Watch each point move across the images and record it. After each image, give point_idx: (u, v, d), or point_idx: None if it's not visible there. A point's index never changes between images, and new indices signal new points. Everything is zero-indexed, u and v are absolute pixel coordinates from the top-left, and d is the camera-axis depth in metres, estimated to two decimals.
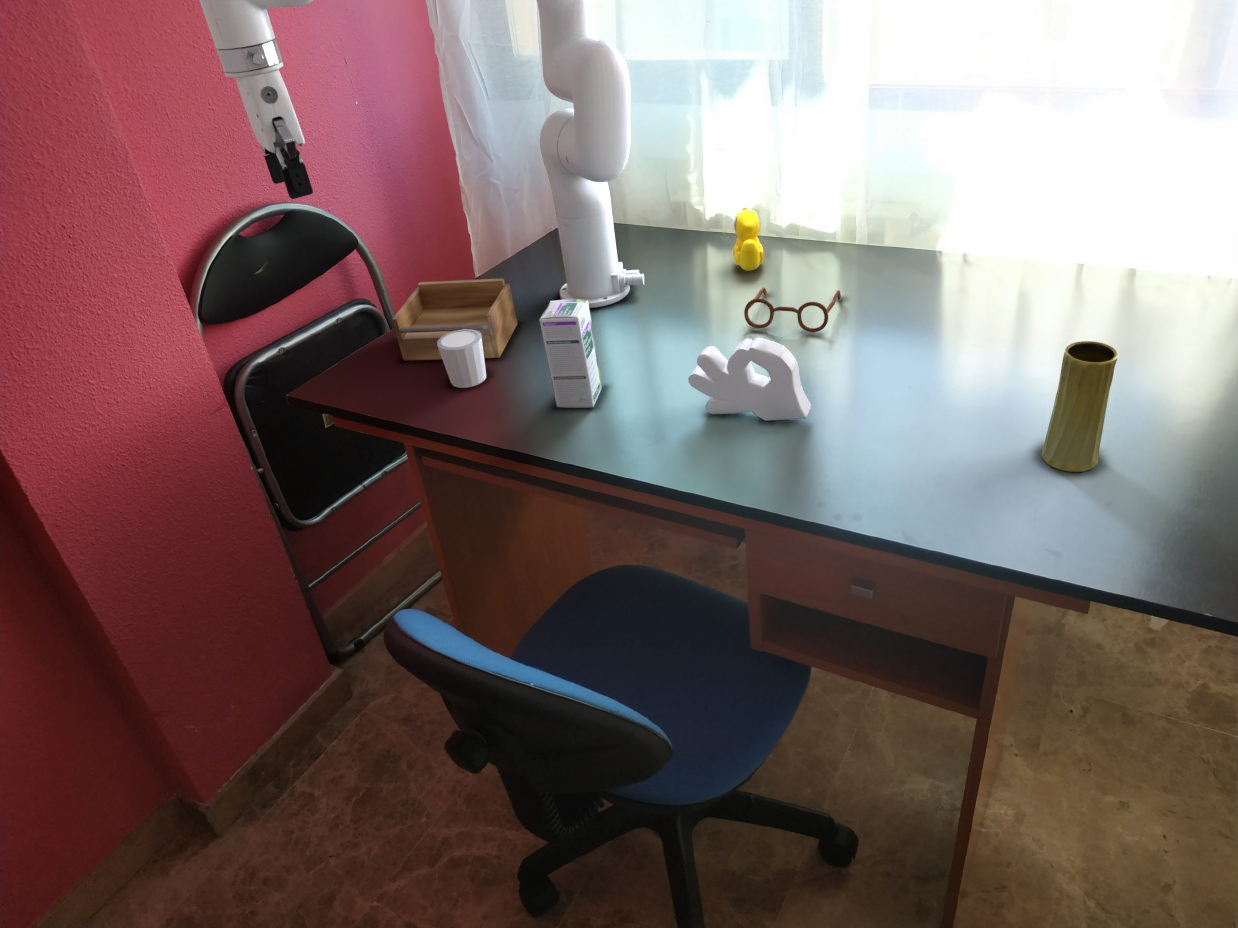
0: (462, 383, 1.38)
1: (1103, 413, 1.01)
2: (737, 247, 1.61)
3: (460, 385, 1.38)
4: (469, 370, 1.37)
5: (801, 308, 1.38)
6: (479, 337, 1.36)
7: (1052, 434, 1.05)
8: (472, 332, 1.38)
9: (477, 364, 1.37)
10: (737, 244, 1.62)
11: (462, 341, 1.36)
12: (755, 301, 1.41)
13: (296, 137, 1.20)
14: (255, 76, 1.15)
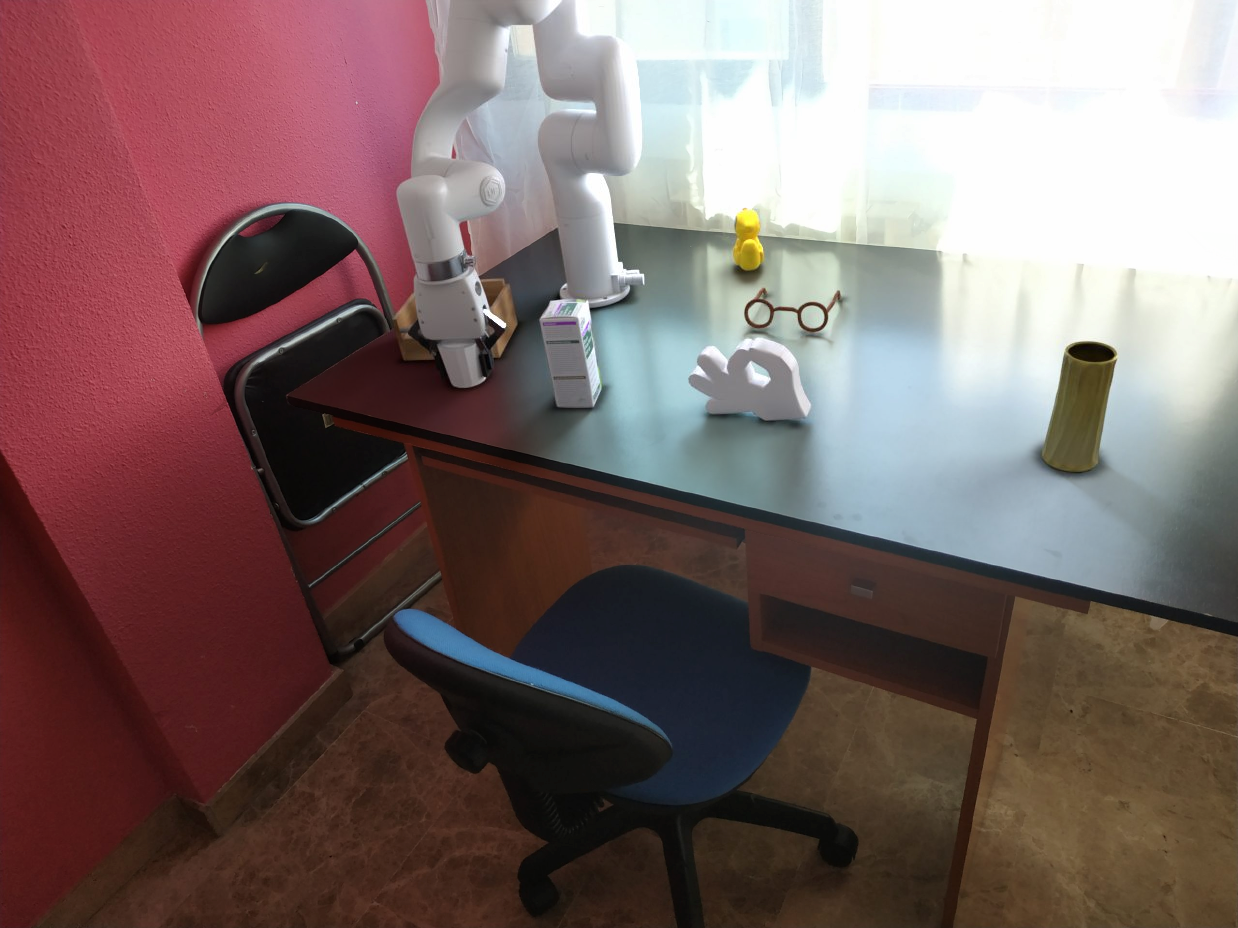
0: (462, 383, 1.38)
1: (1103, 413, 1.01)
2: (737, 247, 1.61)
3: (460, 385, 1.38)
4: (469, 370, 1.37)
5: (801, 308, 1.38)
6: None
7: (1052, 434, 1.05)
8: None
9: (477, 364, 1.37)
10: (737, 244, 1.62)
11: (462, 341, 1.36)
12: (755, 301, 1.41)
13: None
14: (469, 275, 1.29)
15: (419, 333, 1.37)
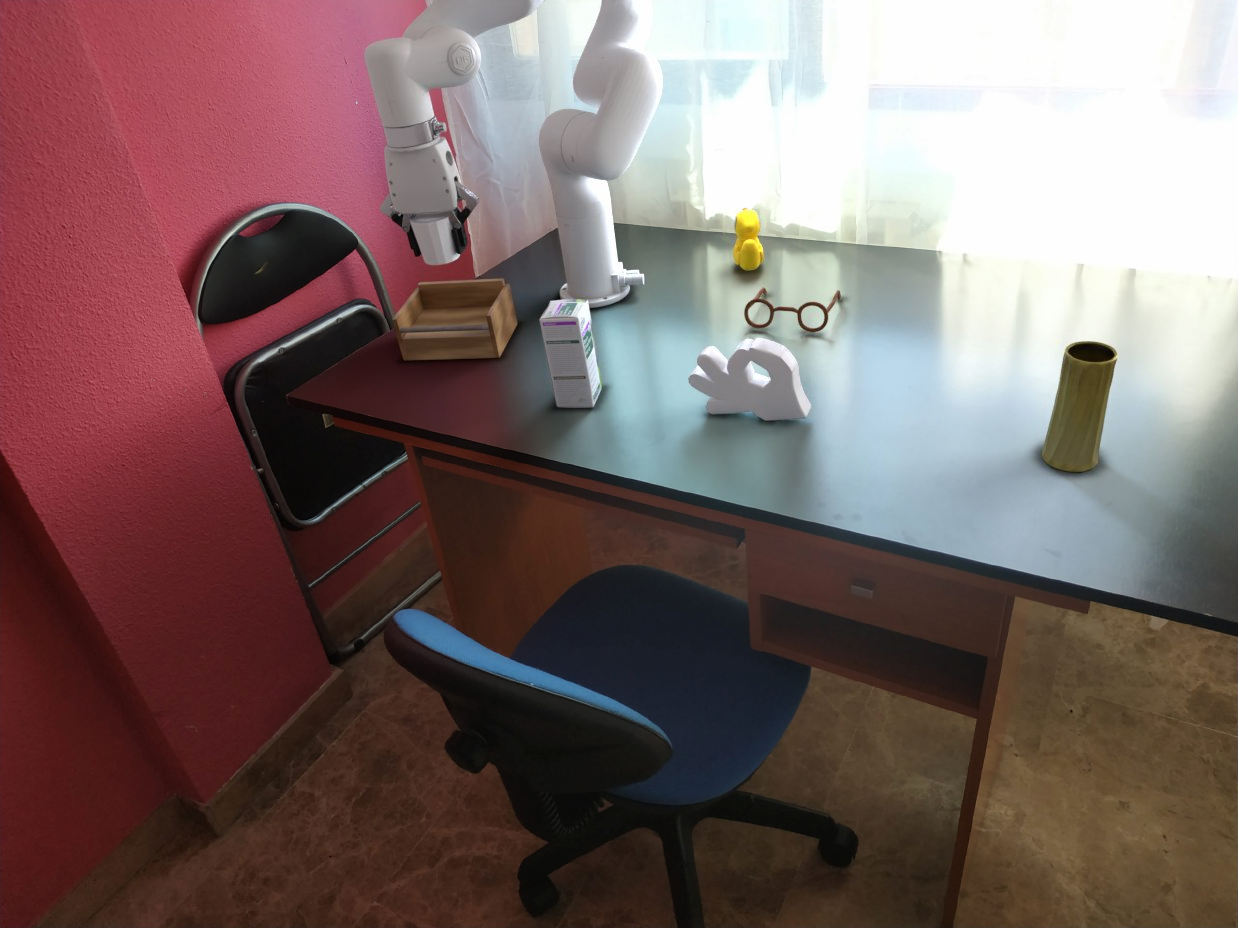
0: (435, 260, 1.37)
1: (1103, 413, 1.01)
2: (737, 247, 1.61)
3: (434, 262, 1.38)
4: (442, 246, 1.36)
5: (801, 308, 1.38)
6: None
7: (1052, 434, 1.05)
8: None
9: (450, 240, 1.36)
10: (737, 244, 1.62)
11: (434, 216, 1.35)
12: (755, 301, 1.41)
13: None
14: (440, 143, 1.29)
15: (391, 209, 1.36)
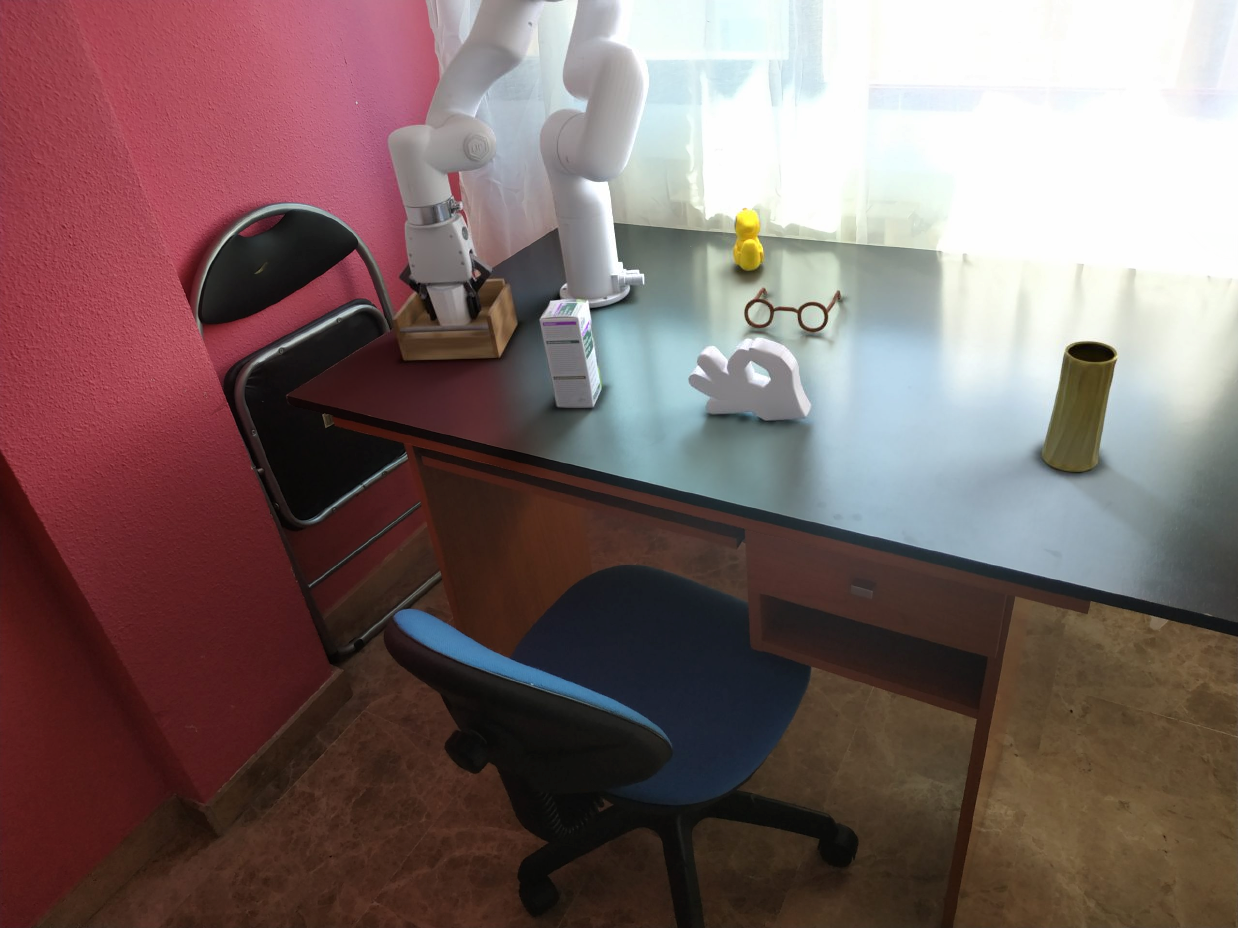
0: (450, 323, 1.47)
1: (1103, 413, 1.01)
2: (737, 247, 1.61)
3: None
4: (457, 311, 1.45)
5: (801, 308, 1.38)
6: None
7: (1052, 434, 1.05)
8: None
9: (464, 305, 1.46)
10: (737, 244, 1.62)
11: (450, 283, 1.45)
12: (755, 301, 1.41)
13: None
14: (456, 220, 1.38)
15: (410, 277, 1.46)
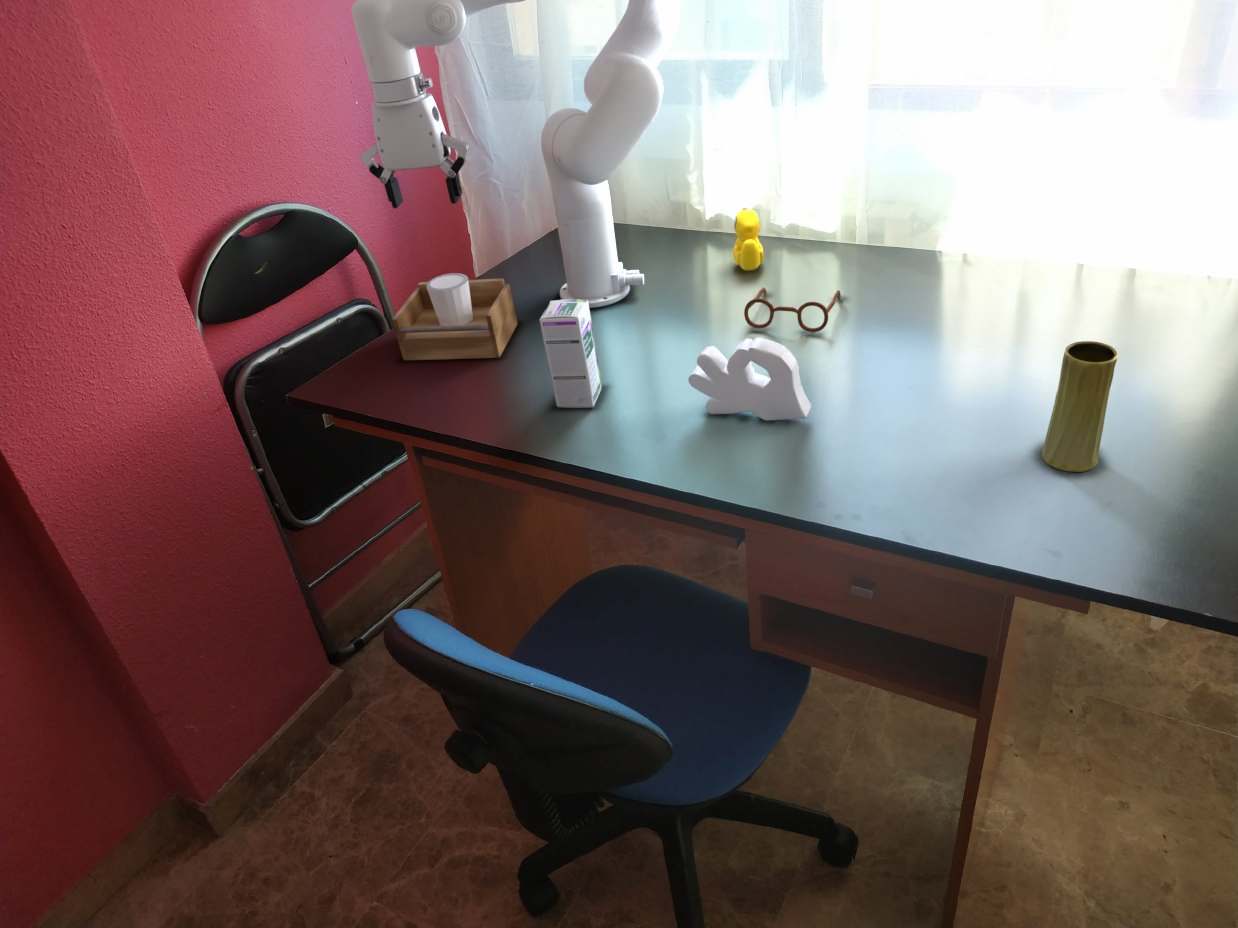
0: (450, 323, 1.47)
1: (1103, 413, 1.01)
2: (737, 247, 1.61)
3: None
4: (457, 311, 1.45)
5: (801, 308, 1.38)
6: (466, 280, 1.45)
7: (1052, 434, 1.05)
8: (459, 276, 1.47)
9: (464, 305, 1.46)
10: (737, 244, 1.62)
11: (450, 283, 1.45)
12: (755, 301, 1.41)
13: (449, 149, 1.38)
14: (426, 99, 1.32)
15: (371, 160, 1.39)
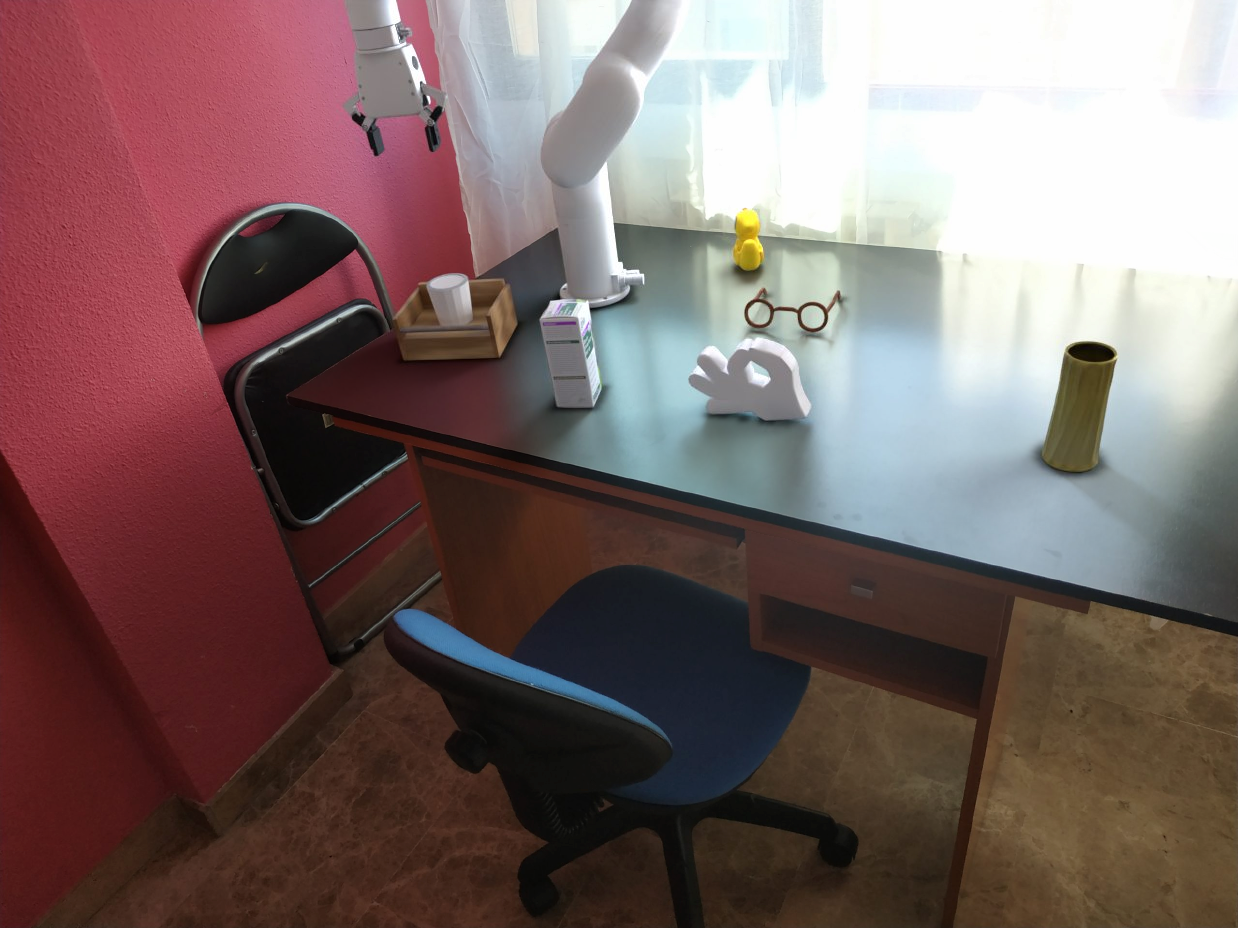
0: (450, 323, 1.47)
1: (1103, 413, 1.01)
2: (737, 247, 1.61)
3: None
4: (457, 311, 1.45)
5: (801, 308, 1.38)
6: (466, 280, 1.45)
7: (1052, 434, 1.05)
8: (459, 276, 1.47)
9: (464, 305, 1.46)
10: (737, 244, 1.62)
11: (450, 283, 1.45)
12: (755, 301, 1.41)
13: (428, 98, 1.43)
14: (405, 47, 1.37)
15: (354, 108, 1.44)
